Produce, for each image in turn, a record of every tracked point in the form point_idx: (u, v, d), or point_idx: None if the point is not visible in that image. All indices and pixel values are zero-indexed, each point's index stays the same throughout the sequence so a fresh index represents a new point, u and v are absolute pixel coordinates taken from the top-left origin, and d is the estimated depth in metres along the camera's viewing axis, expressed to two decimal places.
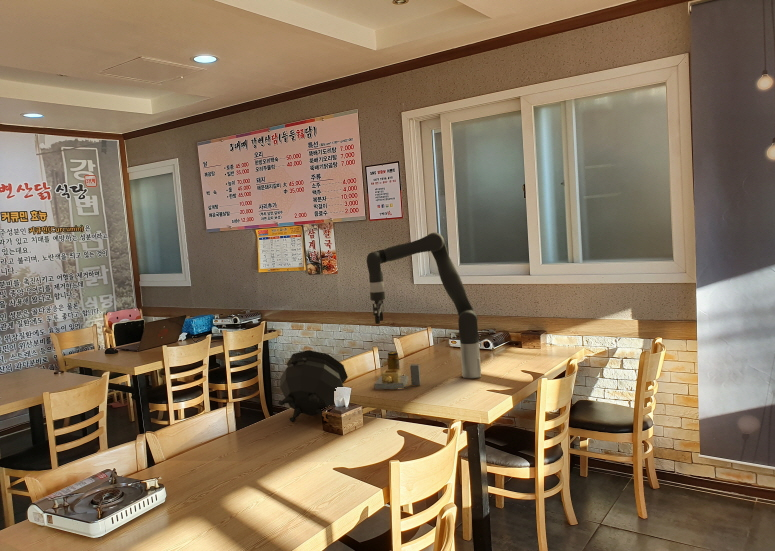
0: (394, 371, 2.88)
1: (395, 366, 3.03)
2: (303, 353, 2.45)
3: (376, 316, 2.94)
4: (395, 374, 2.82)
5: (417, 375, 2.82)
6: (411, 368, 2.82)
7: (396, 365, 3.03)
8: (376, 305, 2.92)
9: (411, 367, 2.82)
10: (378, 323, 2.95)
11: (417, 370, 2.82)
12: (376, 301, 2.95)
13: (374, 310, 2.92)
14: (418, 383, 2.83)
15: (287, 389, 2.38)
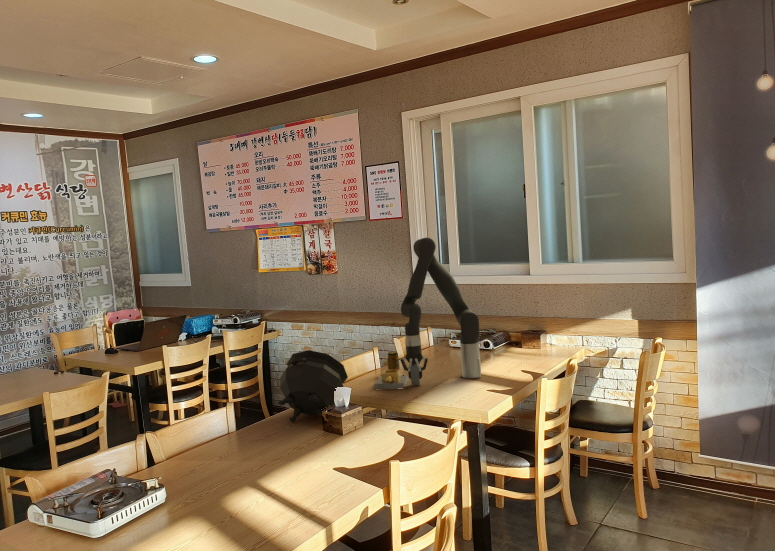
0: (394, 371, 2.88)
1: (395, 366, 3.03)
2: (303, 353, 2.45)
3: (422, 370, 2.83)
4: (395, 374, 2.82)
5: (417, 375, 2.82)
6: (411, 368, 2.82)
7: (396, 365, 3.03)
8: (427, 359, 2.83)
9: (411, 367, 2.82)
10: None
11: (417, 370, 2.82)
12: (421, 353, 2.82)
13: (426, 364, 2.82)
14: (418, 383, 2.83)
15: (287, 389, 2.38)
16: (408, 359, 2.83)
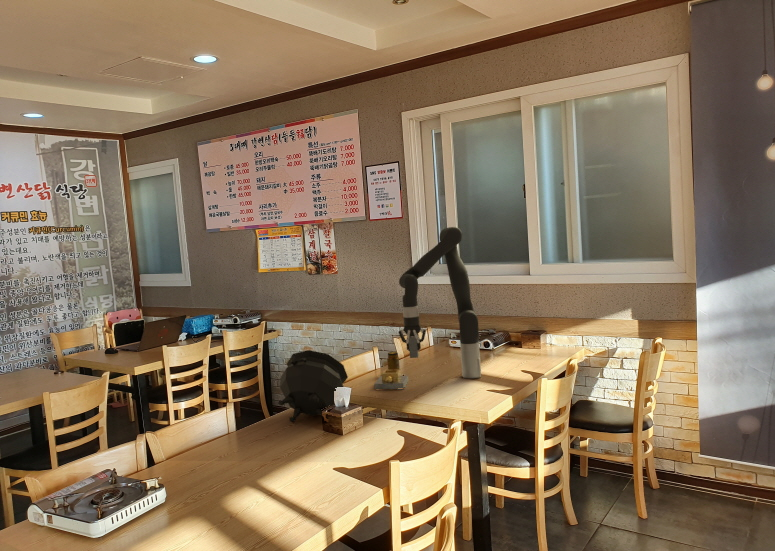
0: (394, 371, 2.88)
1: (395, 366, 3.03)
2: (303, 353, 2.45)
3: None
4: (395, 374, 2.82)
5: (415, 346, 2.81)
6: (409, 340, 2.81)
7: (396, 365, 3.03)
8: None
9: (409, 339, 2.81)
10: (419, 349, 2.83)
11: (415, 342, 2.81)
12: (419, 325, 2.81)
13: (424, 336, 2.81)
14: (416, 355, 2.81)
15: (287, 389, 2.38)
16: (406, 331, 2.81)
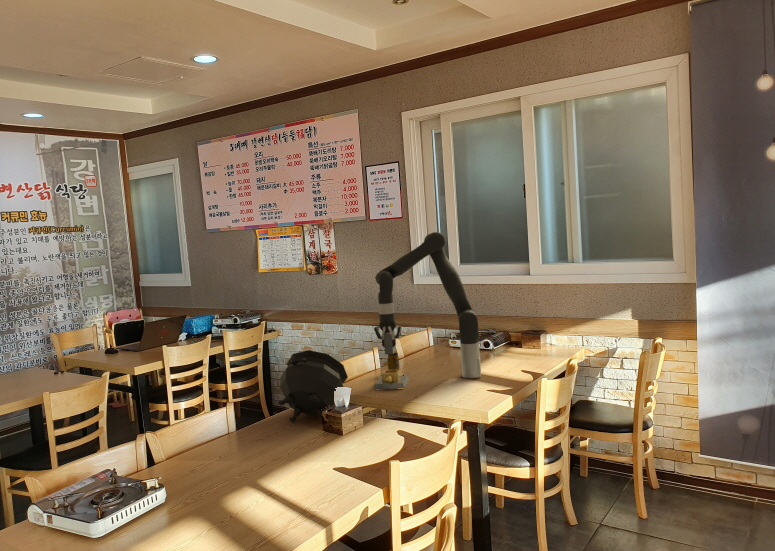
0: (394, 371, 2.88)
1: (395, 366, 3.03)
2: (303, 353, 2.45)
3: (395, 339, 2.84)
4: (395, 374, 2.82)
5: (390, 343, 2.83)
6: (384, 336, 2.84)
7: (396, 365, 3.03)
8: (401, 327, 2.84)
9: (384, 335, 2.83)
10: (394, 346, 2.85)
11: (390, 338, 2.83)
12: (394, 322, 2.83)
13: (399, 333, 2.83)
14: (391, 351, 2.84)
15: (287, 389, 2.38)
16: (381, 327, 2.84)
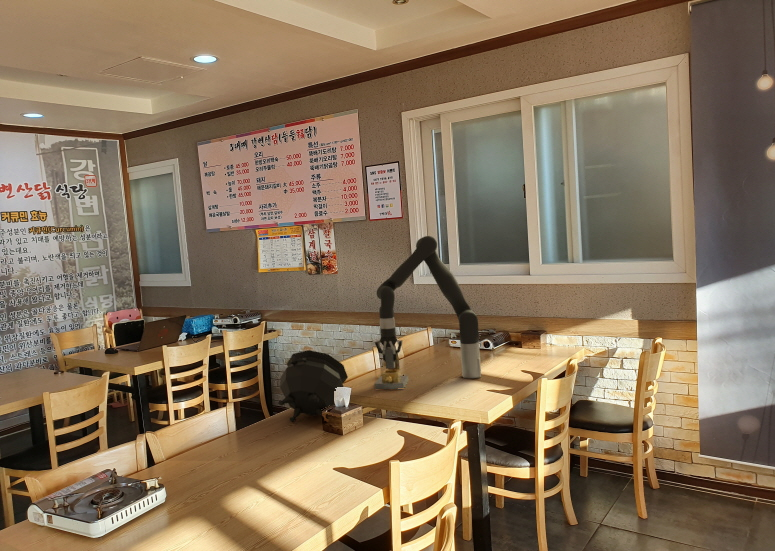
0: (394, 371, 2.88)
1: (395, 366, 3.03)
2: (303, 353, 2.45)
3: (396, 353, 2.85)
4: (395, 374, 2.82)
5: (391, 357, 2.84)
6: (385, 351, 2.84)
7: (396, 365, 3.03)
8: None
9: (385, 350, 2.84)
10: (395, 360, 2.86)
11: (391, 353, 2.84)
12: (395, 336, 2.84)
13: (400, 347, 2.84)
14: (392, 366, 2.84)
15: (287, 389, 2.38)
16: (382, 342, 2.84)
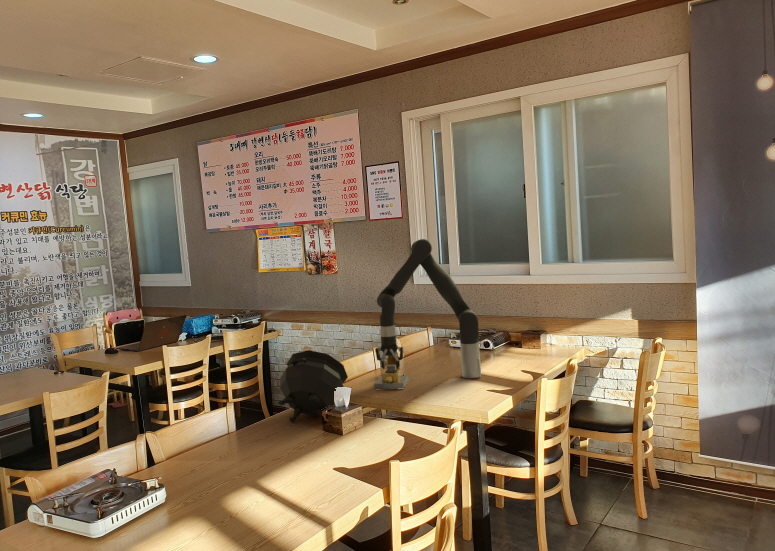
0: None
1: None
2: (303, 353, 2.45)
3: (399, 360, 2.85)
4: (395, 374, 2.82)
5: None
6: (388, 368, 2.85)
7: None
8: None
9: (388, 367, 2.85)
10: (398, 367, 2.86)
11: (393, 370, 2.84)
12: (396, 344, 2.84)
13: (402, 354, 2.84)
14: None
15: (287, 389, 2.38)
16: (383, 349, 2.85)
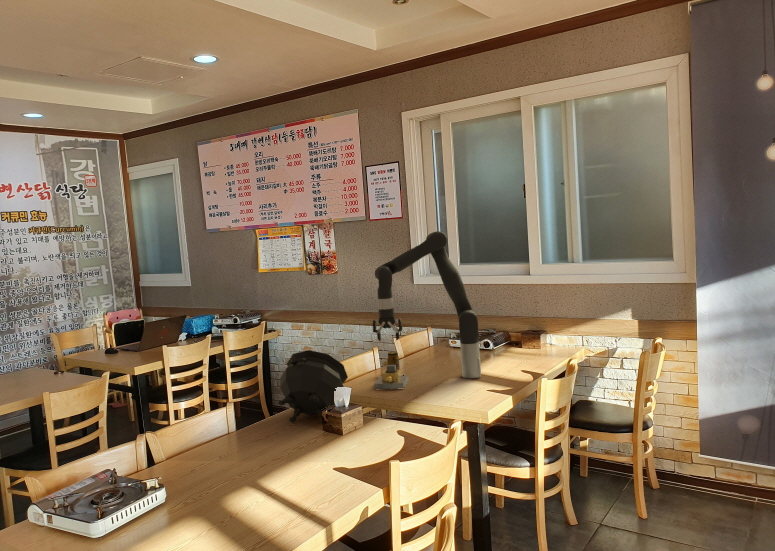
0: None
1: None
2: (304, 353, 2.45)
3: (398, 332, 2.83)
4: (395, 374, 2.82)
5: None
6: (387, 369, 2.85)
7: (396, 365, 3.03)
8: None
9: (387, 368, 2.85)
10: None
11: (393, 371, 2.84)
12: (394, 317, 2.83)
13: (401, 325, 2.82)
14: None
15: (287, 389, 2.38)
16: (381, 321, 2.83)
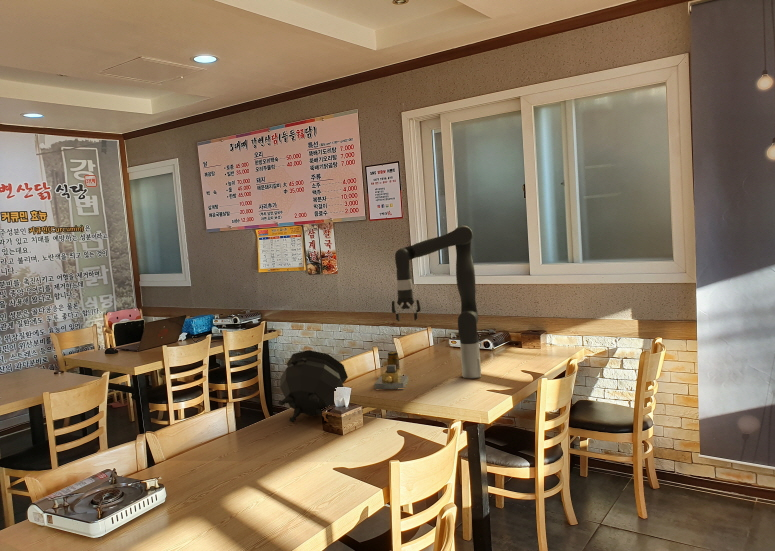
0: None
1: None
2: (304, 353, 2.45)
3: None
4: (395, 374, 2.82)
5: None
6: (387, 369, 2.85)
7: (396, 365, 3.03)
8: (419, 300, 2.91)
9: (387, 368, 2.85)
10: None
11: (393, 371, 2.84)
12: (412, 298, 2.91)
13: (419, 306, 2.90)
14: None
15: (287, 389, 2.38)
16: (400, 302, 2.91)
